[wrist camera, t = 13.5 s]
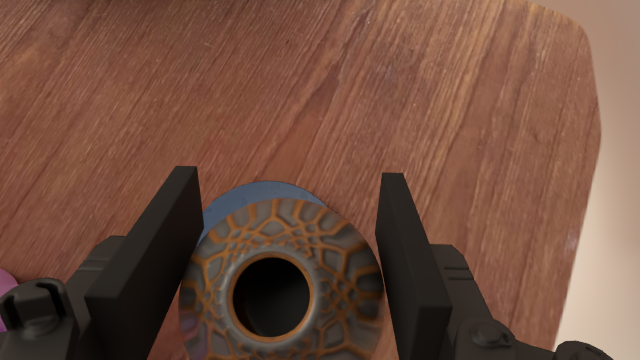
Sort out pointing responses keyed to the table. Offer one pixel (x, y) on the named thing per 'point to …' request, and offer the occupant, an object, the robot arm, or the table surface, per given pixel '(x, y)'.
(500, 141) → the table surface
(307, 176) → the table surface
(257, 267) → the vase
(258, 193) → the lid
